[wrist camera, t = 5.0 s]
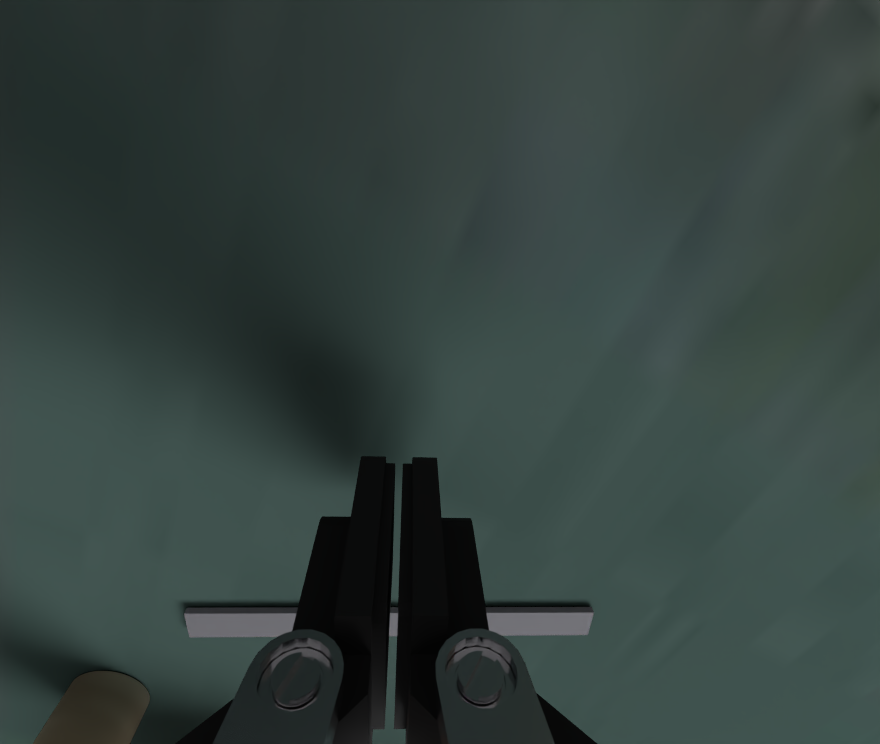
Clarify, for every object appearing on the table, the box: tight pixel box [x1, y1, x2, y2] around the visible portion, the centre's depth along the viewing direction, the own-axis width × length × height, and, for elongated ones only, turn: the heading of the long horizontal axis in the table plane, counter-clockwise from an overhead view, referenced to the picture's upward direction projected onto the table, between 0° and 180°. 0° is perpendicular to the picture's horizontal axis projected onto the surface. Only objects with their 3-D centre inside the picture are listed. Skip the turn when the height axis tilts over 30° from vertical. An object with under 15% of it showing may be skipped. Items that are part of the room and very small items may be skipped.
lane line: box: [184, 607, 594, 637], centre depth 14 cm, size 12×1×1 cm, turn 86°
